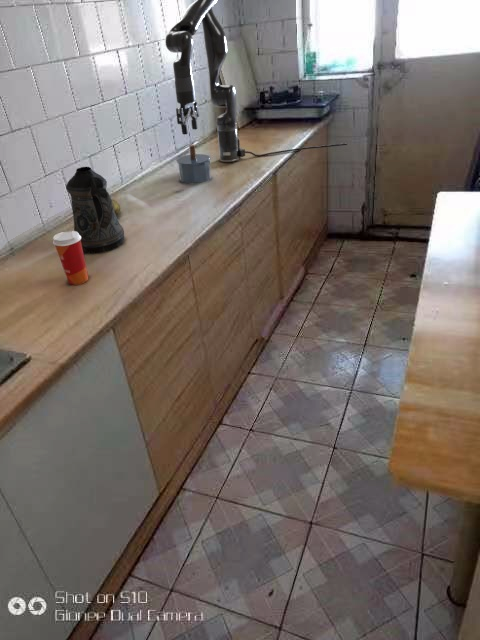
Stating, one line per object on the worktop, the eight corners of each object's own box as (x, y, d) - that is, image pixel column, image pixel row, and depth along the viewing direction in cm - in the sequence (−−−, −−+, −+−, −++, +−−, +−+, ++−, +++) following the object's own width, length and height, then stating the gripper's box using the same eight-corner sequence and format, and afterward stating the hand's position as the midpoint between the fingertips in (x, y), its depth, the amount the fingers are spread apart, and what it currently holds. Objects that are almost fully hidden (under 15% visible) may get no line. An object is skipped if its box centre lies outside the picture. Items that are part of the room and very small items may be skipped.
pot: (200, 172, 219) (198, 154, 214) (217, 179, 209) (215, 159, 204) (174, 179, 212) (172, 160, 208) (190, 186, 203) (188, 166, 198)
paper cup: (68, 275, 142) (55, 231, 134) (94, 272, 142) (82, 228, 134) (62, 288, 135) (48, 242, 127) (89, 285, 136) (77, 240, 128)
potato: (129, 210, 184) (125, 190, 179) (112, 223, 174) (107, 202, 169) (111, 209, 186) (106, 189, 182) (92, 222, 176) (87, 201, 172)
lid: (199, 154, 215) (197, 139, 211) (217, 161, 205) (215, 144, 201) (170, 162, 208) (168, 146, 204) (187, 168, 198) (185, 152, 194)
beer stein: (94, 231, 169) (76, 159, 155) (142, 235, 163) (128, 161, 149) (65, 251, 156) (43, 175, 142) (116, 257, 150) (98, 178, 136)
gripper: (184, 92, 184) (189, 136, 193) (201, 86, 194) (205, 127, 203) (167, 92, 186) (173, 135, 196) (185, 86, 197) (190, 127, 206)
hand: (190, 131), depth 199 cm, fingers open, 8 cm apart
